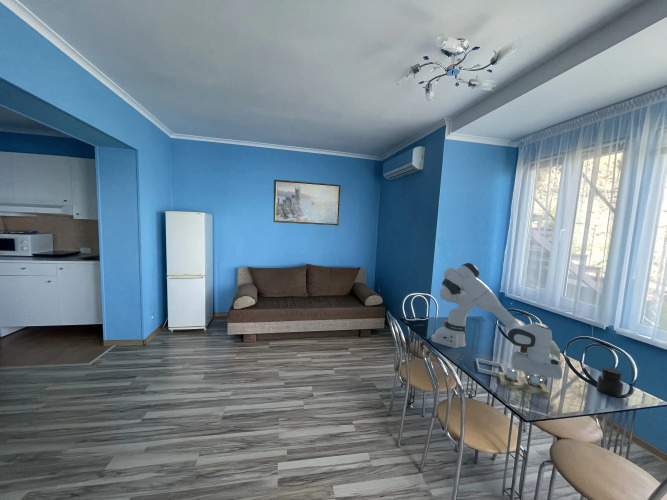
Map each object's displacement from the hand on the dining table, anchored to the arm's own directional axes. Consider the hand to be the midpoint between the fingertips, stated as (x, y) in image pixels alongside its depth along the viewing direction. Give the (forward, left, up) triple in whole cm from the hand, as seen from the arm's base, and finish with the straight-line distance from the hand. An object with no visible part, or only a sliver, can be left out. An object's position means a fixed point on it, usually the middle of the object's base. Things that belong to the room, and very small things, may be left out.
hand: (534, 381), depth 135 cm
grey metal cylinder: (0, 0, -4) cm, 4 cm away
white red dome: (+19, +51, -5) cm, 55 cm away
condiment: (+5, +41, -5) cm, 42 cm away
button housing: (+4, +11, -4) cm, 13 cm away
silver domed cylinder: (-10, 0, -4) cm, 11 cm away
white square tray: (-18, +11, -4) cm, 21 cm away
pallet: (-5, 0, -4) cm, 7 cm away
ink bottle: (+36, +17, -5) cm, 40 cm away
